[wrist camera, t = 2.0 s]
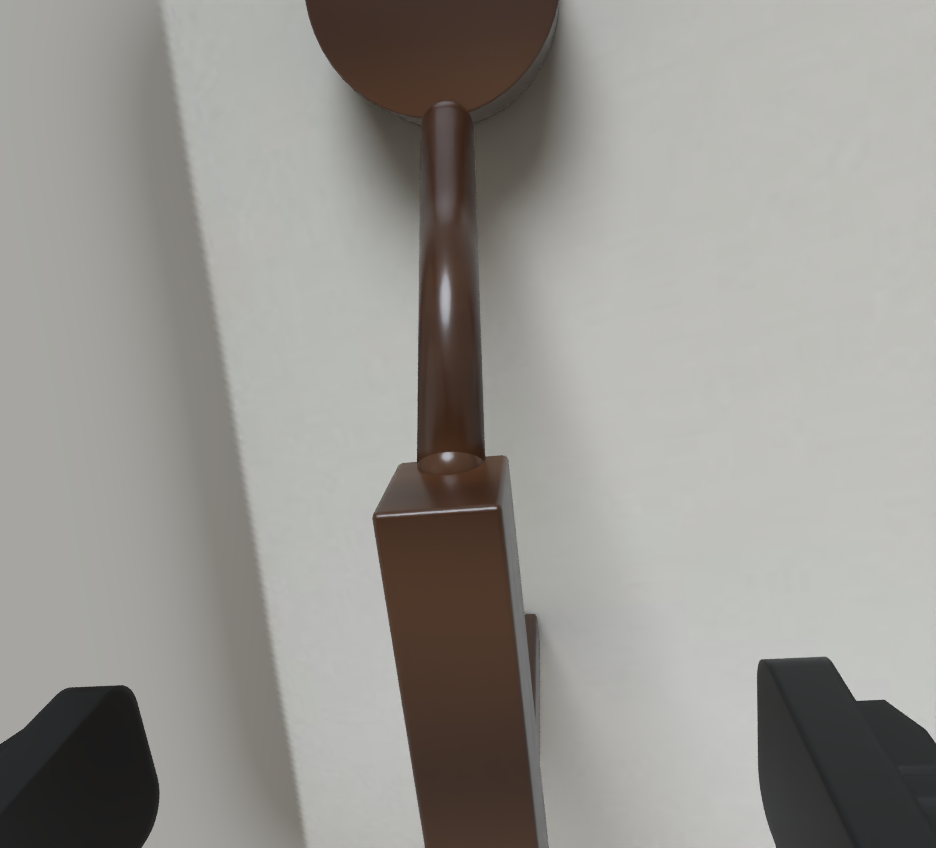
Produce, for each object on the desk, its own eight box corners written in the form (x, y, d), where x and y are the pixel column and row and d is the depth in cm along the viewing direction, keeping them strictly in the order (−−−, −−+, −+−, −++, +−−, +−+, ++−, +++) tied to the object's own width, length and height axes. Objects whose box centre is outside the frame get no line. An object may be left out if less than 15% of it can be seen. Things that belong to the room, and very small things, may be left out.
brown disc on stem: (313, -108, 18) (54, -454, 8) (548, -148, 18) (560, -572, 8) (425, 652, 24) (347, 966, 14) (605, 644, 23) (653, 965, 14)
